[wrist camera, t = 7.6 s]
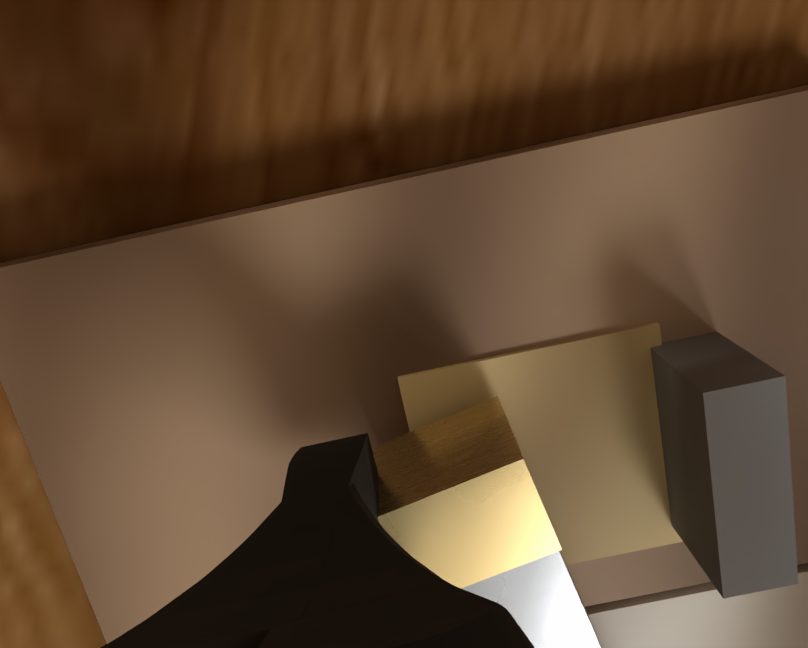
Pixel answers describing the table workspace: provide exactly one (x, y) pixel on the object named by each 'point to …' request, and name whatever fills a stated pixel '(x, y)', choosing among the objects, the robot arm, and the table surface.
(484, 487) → the latch bar
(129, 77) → the table surface
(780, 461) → the door board
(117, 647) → the robot arm
